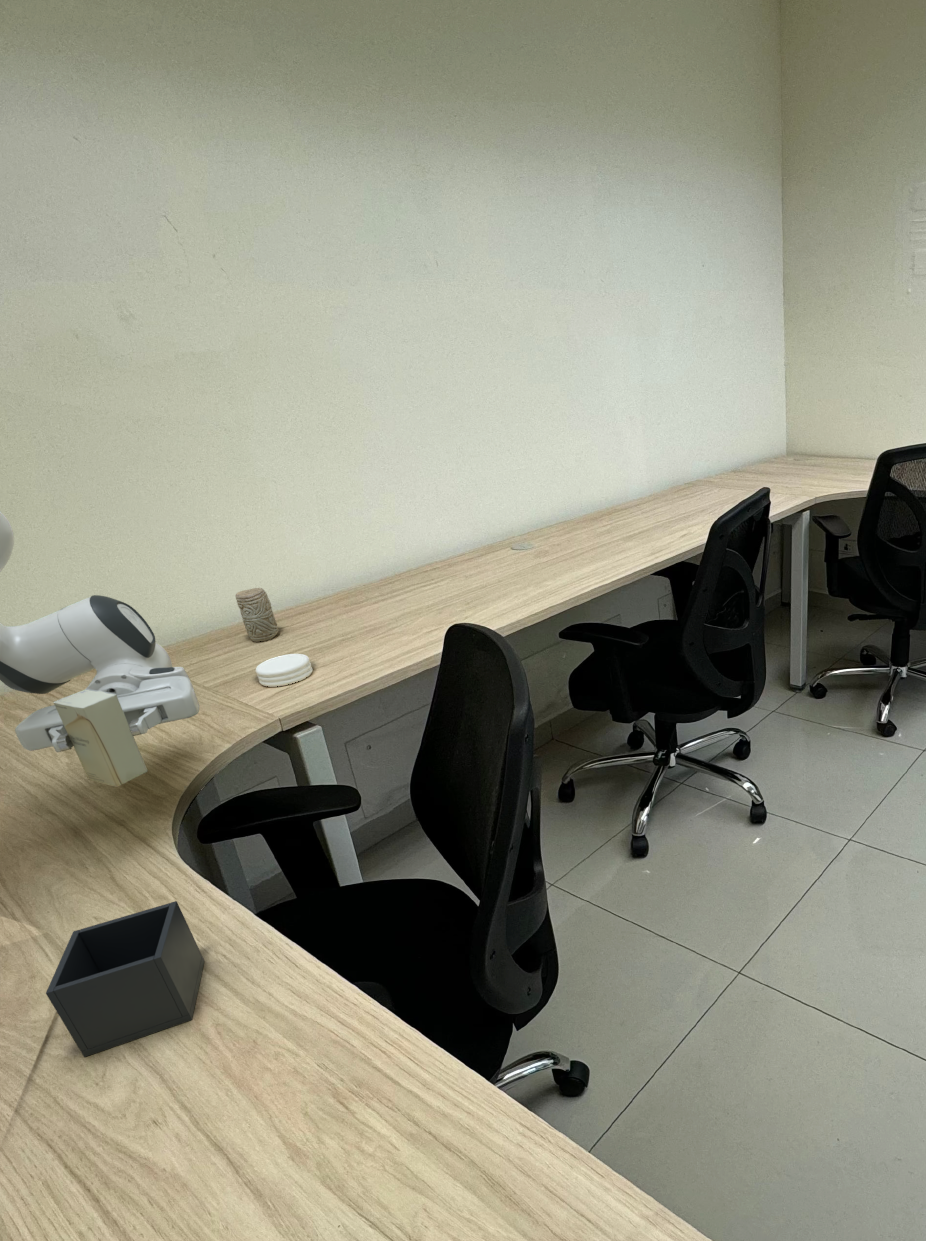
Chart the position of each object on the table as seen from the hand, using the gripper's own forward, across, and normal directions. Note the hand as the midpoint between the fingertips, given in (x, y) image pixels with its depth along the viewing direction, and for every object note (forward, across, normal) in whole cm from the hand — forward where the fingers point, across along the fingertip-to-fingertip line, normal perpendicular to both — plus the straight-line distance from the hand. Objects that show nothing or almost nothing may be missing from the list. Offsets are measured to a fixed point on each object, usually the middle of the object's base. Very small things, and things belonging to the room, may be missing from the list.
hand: (99, 738), depth 101 cm
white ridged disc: (-55, +15, +17) cm, 60 cm away
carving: (-85, +9, +17) cm, 87 cm away
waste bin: (+36, +6, +17) cm, 40 cm away
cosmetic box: (-1, 0, +7) cm, 7 cm away
